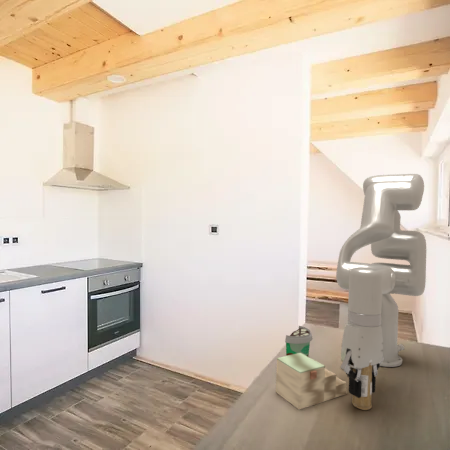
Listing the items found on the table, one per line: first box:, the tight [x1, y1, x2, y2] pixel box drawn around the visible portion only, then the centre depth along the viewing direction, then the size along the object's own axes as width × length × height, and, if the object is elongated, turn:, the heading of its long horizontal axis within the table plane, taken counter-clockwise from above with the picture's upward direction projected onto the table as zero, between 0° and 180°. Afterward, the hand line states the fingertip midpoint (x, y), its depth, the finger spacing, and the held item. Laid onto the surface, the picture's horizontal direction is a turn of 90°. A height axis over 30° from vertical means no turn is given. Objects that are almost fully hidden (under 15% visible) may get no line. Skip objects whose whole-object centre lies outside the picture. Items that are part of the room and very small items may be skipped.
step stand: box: [275, 353, 348, 410], centre depth 88 cm, size 16×10×9 cm, turn 119°
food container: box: [284, 325, 313, 357], centre depth 106 cm, size 12×6×10 cm, turn 148°
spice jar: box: [351, 360, 373, 411], centre depth 83 cm, size 5×5×14 cm
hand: (361, 391), depth 83 cm, fingers closed on spice jar, 4 cm apart
